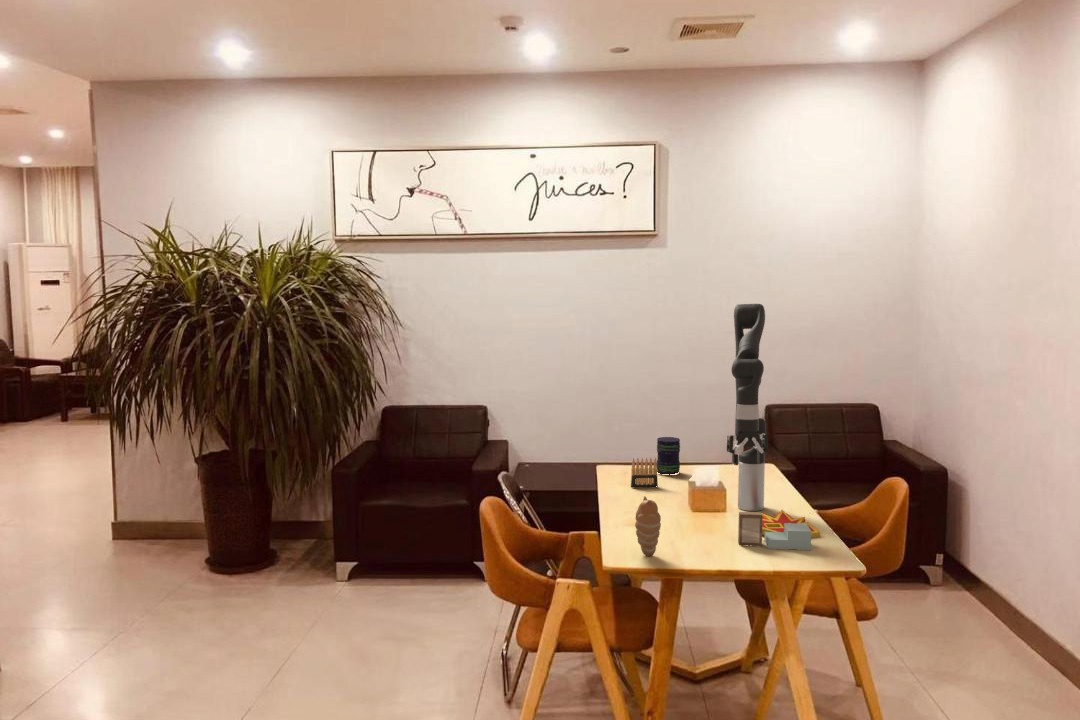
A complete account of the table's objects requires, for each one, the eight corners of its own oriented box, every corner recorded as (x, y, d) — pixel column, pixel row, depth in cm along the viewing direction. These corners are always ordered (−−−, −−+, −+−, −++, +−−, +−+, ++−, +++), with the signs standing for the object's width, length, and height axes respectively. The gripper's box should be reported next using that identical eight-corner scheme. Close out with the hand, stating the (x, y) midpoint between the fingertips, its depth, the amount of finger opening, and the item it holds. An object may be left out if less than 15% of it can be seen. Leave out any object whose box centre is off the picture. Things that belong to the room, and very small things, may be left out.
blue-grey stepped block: (764, 540, 275) (764, 522, 275) (806, 542, 273) (806, 523, 273) (767, 548, 267) (768, 530, 267) (810, 550, 266) (811, 531, 265)
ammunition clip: (631, 487, 344) (631, 458, 343) (630, 486, 346) (630, 457, 345) (657, 487, 345) (658, 458, 343) (656, 486, 347) (657, 457, 345)
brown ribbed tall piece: (631, 552, 265) (631, 495, 263) (655, 550, 266) (655, 493, 265) (640, 561, 256) (641, 502, 254) (665, 559, 258) (666, 501, 256)
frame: (738, 542, 274) (738, 511, 273) (760, 543, 273) (761, 512, 272) (739, 545, 271) (739, 514, 270) (761, 546, 270) (762, 515, 269)
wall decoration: (819, 517, 302) (819, 505, 301) (820, 545, 272) (820, 531, 272) (755, 513, 308) (755, 501, 308) (750, 540, 279) (750, 527, 278)
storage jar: (668, 469, 376) (668, 436, 374) (684, 473, 368) (685, 439, 366) (651, 472, 370) (652, 438, 368) (667, 477, 362) (668, 442, 360)
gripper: (762, 415, 298) (762, 461, 299) (723, 416, 295) (723, 463, 296) (771, 417, 290) (771, 465, 291) (732, 419, 288) (732, 467, 289)
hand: (747, 464), depth 294 cm, fingers open, 8 cm apart
